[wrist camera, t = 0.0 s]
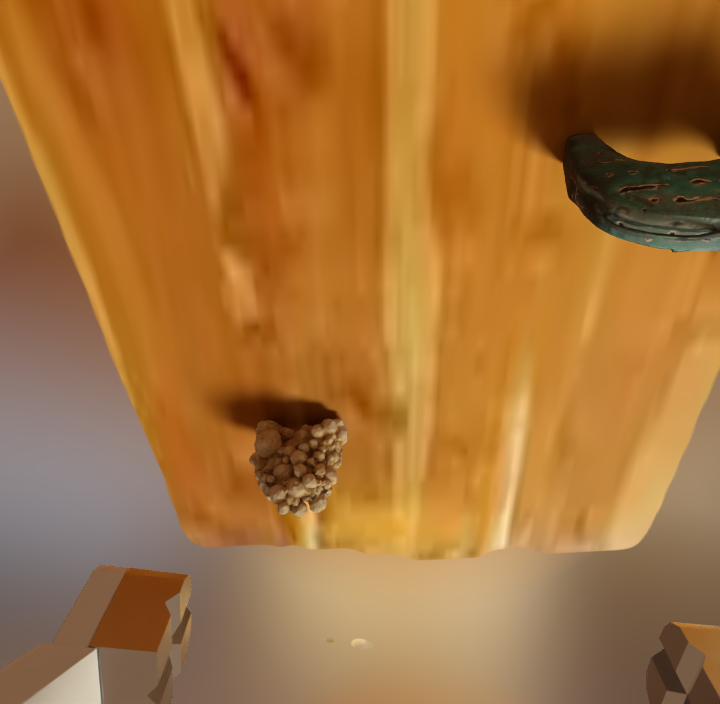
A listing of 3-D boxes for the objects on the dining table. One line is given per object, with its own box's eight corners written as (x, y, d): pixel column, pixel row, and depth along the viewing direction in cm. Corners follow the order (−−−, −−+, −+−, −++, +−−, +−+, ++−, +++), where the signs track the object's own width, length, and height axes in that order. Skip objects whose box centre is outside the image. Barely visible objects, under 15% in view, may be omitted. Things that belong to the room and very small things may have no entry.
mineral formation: (352, 441, 89) (344, 535, 78) (261, 443, 90) (240, 536, 79) (345, 402, 83) (336, 497, 72) (248, 406, 85) (224, 499, 74)
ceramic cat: (793, 104, 55) (937, 224, 40) (767, 173, 59) (888, 304, 44) (560, 119, 56) (615, 237, 42) (552, 184, 61) (598, 313, 46)
